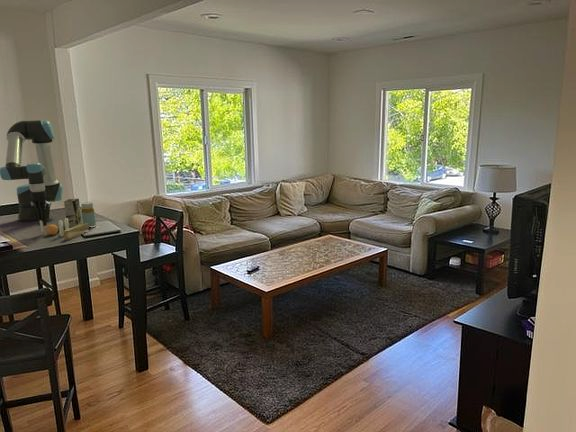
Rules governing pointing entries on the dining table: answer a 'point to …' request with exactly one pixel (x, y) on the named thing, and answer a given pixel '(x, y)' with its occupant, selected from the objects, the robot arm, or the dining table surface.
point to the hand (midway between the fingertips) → (43, 231)
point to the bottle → (88, 213)
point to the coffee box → (73, 212)
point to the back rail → (75, 231)
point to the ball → (51, 229)
